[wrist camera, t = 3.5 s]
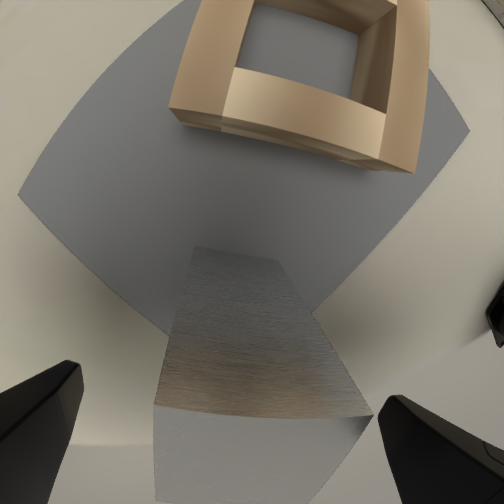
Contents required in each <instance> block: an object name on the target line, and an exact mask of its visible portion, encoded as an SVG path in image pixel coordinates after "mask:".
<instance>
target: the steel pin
mask: <svg viewBox="0 0 504 504" xmlns="http://www.w3.org/2000/svg"><path fill="white" fill-rule="evenodd" d="M373 415H374V414H373V413H372V411H371V409H370V408H369V406H368V404H367V403H366V401H365V399H364V398H363V396H362V394H361V393H360V391H359V389H358V388H357V386H356V384H355V383H354V381H353V379H352V378H351V376H350V374H349V373H348V371H347V370H346V368H345V366H344V365H343V363H342V361H341V360H340V358H339V357H338V355H337V353H336V352H335V350H334V348H333V347H332V345H331V344H330V342H329V340H328V339H327V337H326V335H325V334H324V332H323V331H322V329H321V327H320V326H319V324H318V323H317V321H316V319H315V318H314V316H313V315H312V313H311V311H310V310H309V308H308V307H307V305H306V303H305V302H304V300H303V299H302V297H301V295H300V294H299V292H298V291H297V289H296V288H295V286H294V284H293V283H292V281H291V280H290V278H289V277H288V275H287V273H286V272H285V270H284V269H283V267H282V266H281V264H280V262H279V261H278V260H272V259H267V258H261V257H255V256H250V255H244V254H239V253H233V252H227V251H222V250H216V249H211V248H205V247H200V246H195V247H194V250H193V254H192V257H191V261H190V264H189V267H188V271H187V274H186V278H185V281H184V285H183V289H182V292H181V296H180V299H179V303H178V307H177V311H176V314H175V318H174V322H173V326H172V330H171V334H170V338H169V342H168V346H167V350H166V354H165V358H164V362H163V366H162V370H161V375H160V379H159V383H158V388H157V392H156V397H155V402H154V429H153V436H154V479H155V498H156V501H159V502H165V503H172V504H308V503H309V502H310V501H311V500H312V499H313V498H314V496H315V495H316V494H317V493H318V492H319V491H320V489H321V488H322V487H323V486H324V485H325V483H326V482H327V481H328V480H329V478H330V477H331V476H332V475H333V473H334V472H335V471H336V469H337V468H338V467H339V465H340V464H341V463H342V461H343V460H344V459H345V457H346V456H347V455H348V453H349V452H350V450H351V449H352V448H353V446H354V445H355V443H356V442H357V440H358V439H359V437H360V436H361V434H362V433H363V431H364V430H365V428H366V427H367V425H368V424H369V422H370V420H371V419H372V417H373Z"/></svg>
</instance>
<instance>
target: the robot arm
mask: <svg viewBox="0 0 504 504" xmlns="http://www.w3.org/2000/svg"><path fill="white" fill-rule="evenodd" d="M487 318H488V321H489V323H490V326H491V329H492V332H493V335H494V338H495V341H496V344H497V346H498V347H499V348H501V347H502V346H503V345H504V287H503V289H502V290H501V292H500V293H499V294H498V296H497V297H496V299H495V300H494V302H493V303H492V304H491V306H490V307H489V309H488V310H487ZM83 392H84V383H83V376H82V369H81V366H80V364H79V363H76V362H73V361H70V360H65V361H63V362H61V363H59V364H57V365H55V366H53V367H51V368H49V369H47V370H45V371H43V372H41V373H39V374H37V375H35V376H33V377H31V378H29V379H27V380H25V381H23V382H21V383H20V384H18V385H16V386H14V387H12V388H10V389H8V390H6V391H4V392H2V393H0V504H47V503H48V500H49V497H50V493H51V491H52V488H53V485H54V482H55V479H56V476H57V473H58V470H59V468H60V465H61V462H62V460H63V457H64V454H65V452H66V449H67V447H68V444H69V441H70V438H71V435H72V432H73V428H74V424H75V421H76V417H77V413H78V410H79V406H80V403H81V399H82V396H83ZM378 423H379V427H380V431H381V435H382V439H383V443H384V448H385V452H386V456H387V459H388V462H389V465H390V468H391V471H392V474H393V477H394V480H395V483H396V486H397V489H398V492H399V495H400V498H401V501H402V504H504V450H501V449H499V448H497V447H495V446H493V445H491V444H489V443H487V442H485V441H482V440H481V439H479V438H477V437H476V436H474V435H472V434H470V433H468V432H466V431H464V430H463V429H461V428H459V427H457V426H455V425H454V424H452V423H450V422H448V421H446V420H445V419H443V418H441V417H439V416H437V415H436V414H434V413H432V412H430V411H429V410H427V409H425V408H423V407H422V406H420V405H418V404H416V403H415V402H413V401H411V400H410V399H408V398H406V397H405V396H403V395H392V396H390V397H388V399H387V400H386V402H385V404H384V405H383V407H382V409H381V410H380V412H379V414H378Z"/></svg>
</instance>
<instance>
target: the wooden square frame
mask: <svg viewBox="0 0 504 504" xmlns="http://www.w3.org/2000/svg"><path fill="white" fill-rule="evenodd" d="M255 4H261V5H266V6H270V7H274V8H278V9H282V10H286V11H289V12H293V13H297V14H300V15H303V16H307V17H310V18H313V19H316V20H319V21H322V22H325V23H328V24H331V25H333V26H336V27H339V28H341V29H344V30H346V31H349V32H351V33H354V34H356V35H359V37H358V44H357V51H356V58H355V64H354V71H353V77H352V83H351V88H350V94H349V99H347V98H344V97H341V96H338V95H336V94H333V93H330V92H327V91H324V90H321V89H318V88H315V87H311V86H308V85H305V84H302V83H298V82H295V81H291V80H288V79H284V78H280V77H276V76H272V75H268V74H264V73H260V72H255V71H251V70H246V69H242V68H237V66H238V62H239V59H240V55H241V51H242V48H243V44H244V41H245V37H246V34H247V30H248V27H249V23H250V20H251V17H252V13H253V10H254V7H255ZM429 46H430V17H429V0H202V1H201V4H200V6H199V9H198V12H197V14H196V17H195V20H194V23H193V26H192V28H191V31H190V34H189V37H188V40H187V43H186V46H185V49H184V52H183V56H182V59H181V62H180V65H179V69H178V72H177V76H176V79H175V83H174V86H173V90H172V94H171V98H170V101H169V105H168V108H169V109H170V110H171V111H172V113H173V114H174V115H175V116H176V117H177V119H178V120H179V121H180V122H181V123H182V125H185V126H192V127H198V128H204V129H209V130H215V131H220V132H225V133H230V134H235V135H240V136H245V137H250V138H254V139H258V140H263V141H267V142H271V143H275V144H280V145H284V146H287V147H291V148H295V149H299V150H303V151H306V152H310V153H314V154H317V155H321V156H324V157H327V158H331V159H334V160H337V161H341V162H344V163H347V164H350V165H353V166H356V167H359V168H362V169H365V170H372V171H387V172H400V173H412V174H415V170H416V165H417V159H418V154H419V148H420V142H421V135H422V129H423V121H424V113H425V105H426V95H427V84H428V70H429Z"/></svg>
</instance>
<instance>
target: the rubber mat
mask: <svg viewBox="0 0 504 504" xmlns="http://www.w3.org/2000/svg"><path fill="white" fill-rule="evenodd" d="M201 1H202V0H184V1H182V2H181V3H180V4H178V5H177V6H176V7H174V8H173V9H172V10H171V11H169V12H168V13H167V14H166V15H164V16H163V17H162V18H161V19H159V20H158V21H157V22H156V23H155V24H153V25H152V26H151V27H150V28H149V29H148V30H147V31H145V32H144V33H143V34H142V35H141V36H140V37H139V38H138V39H137V40H136V41H134V42H133V43H132V44H131V45H130V46H129V47H128V48H127V49H126V50H125V51H124V52H123V53H122V54H121V55H120V56H119V57H118V58H117V59H116V60H115V61H114V62H113V63H112V64H111V65H110V66H109V67H108V68H107V70H106V71H105V72H104V73H103V74H102V75H101V76H100V77H99V78H98V79H97V81H96V82H95V83H94V84H93V85H92V86H91V87H90V89H89V90H88V91H87V92H86V93H85V95H84V96H83V97H82V98H81V99H80V101H79V102H78V103H77V104H76V106H75V107H74V108H73V110H72V111H71V112H70V113H69V115H68V116H67V117H66V119H65V120H64V121H63V123H62V124H61V126H60V127H59V128H58V130H57V131H56V133H55V134H54V136H53V137H52V138H51V140H50V141H49V143H48V144H47V146H46V147H45V149H44V151H43V152H42V154H41V155H40V157H39V158H38V160H37V162H36V163H35V165H34V167H33V168H32V170H31V172H30V173H29V175H28V177H27V179H26V180H25V182H24V184H23V186H22V188H21V190H20V191H19V193H18V196H19V197H20V198H21V200H22V201H23V202H24V203H25V204H26V205H27V206H28V208H29V209H30V210H31V211H32V212H33V213H34V214H35V215H36V216H37V217H38V219H39V220H40V221H41V222H42V223H43V224H44V225H45V226H46V227H47V228H48V229H49V230H50V231H51V232H52V233H53V234H54V235H55V236H56V237H57V238H58V239H59V240H60V242H61V243H62V244H63V245H64V246H65V247H67V248H68V249H69V250H70V251H71V252H72V253H73V254H74V255H75V256H76V257H77V258H78V259H79V260H80V261H81V262H82V263H83V264H84V265H85V266H86V267H87V268H88V269H90V270H91V271H92V272H93V273H94V274H95V275H96V276H97V277H98V278H99V279H101V280H102V281H103V282H104V283H105V284H106V285H107V286H108V287H110V288H111V289H112V290H113V291H114V292H115V293H116V294H118V295H119V296H120V297H121V298H122V299H124V300H125V301H126V302H127V303H128V304H130V305H131V306H132V307H133V308H134V309H136V310H137V311H138V312H139V313H141V314H142V315H143V316H144V317H146V318H147V319H148V320H149V321H151V322H152V323H153V324H154V325H156V326H157V327H158V328H160V329H161V330H162V331H163V332H165V333H166V334H167V335H169V336H170V334H171V330H172V326H173V322H174V318H175V314H176V311H177V307H178V303H179V299H180V296H181V292H182V289H183V285H184V281H185V278H186V274H187V271H188V267H189V264H190V261H191V257H192V254H193V250H194V247H195V246H200V247H205V248H211V249H216V250H222V251H227V252H233V253H239V254H244V255H250V256H255V257H261V258H267V259H272V260H278V261H279V262H280V264H281V266H282V267H283V269H284V270H285V272H286V273H287V275H288V277H289V278H290V280H291V281H292V283H293V284H294V286H295V288H296V289H297V291H298V292H299V294H300V295H301V297H302V299H303V300H304V302H305V303H306V305H307V307H308V308H309V310H310V311H311V312H312V311H313V310H314V309H315V308H316V307H317V306H318V305H319V304H320V303H321V302H322V301H323V300H324V299H326V298H327V297H328V296H329V295H330V294H331V293H332V292H333V291H334V290H335V289H336V288H337V287H338V286H339V285H340V284H341V283H342V282H343V281H344V280H345V279H346V278H347V276H348V275H349V274H350V273H351V272H352V271H353V270H354V269H355V268H356V267H357V266H358V265H359V264H360V263H361V262H362V261H363V260H364V259H365V258H366V257H367V256H368V255H369V253H370V252H371V251H372V250H373V249H374V248H375V247H376V246H377V245H378V244H379V243H380V242H381V240H382V239H383V238H384V237H385V236H386V235H387V234H388V233H389V232H390V230H391V229H392V228H393V227H394V226H395V225H396V224H397V223H398V221H399V220H400V219H401V218H402V217H403V216H404V214H405V213H406V212H407V211H408V210H409V209H410V207H411V206H412V205H413V204H414V203H415V202H416V200H417V199H418V198H419V197H420V196H421V194H422V193H423V192H424V191H425V189H426V188H427V187H428V186H429V185H430V183H431V182H432V181H433V180H434V178H435V177H436V176H437V175H438V173H439V172H440V171H441V169H442V168H443V167H444V166H445V164H446V163H447V162H448V160H449V159H450V158H451V156H452V155H453V154H454V152H455V151H456V150H457V148H458V147H459V146H460V144H461V143H462V142H463V140H464V139H465V138H466V136H467V135H468V133H469V132H470V130H469V128H468V127H467V125H466V123H465V121H464V120H463V118H462V116H461V115H460V113H459V111H458V110H457V108H456V106H455V105H454V103H453V102H452V100H451V99H450V97H449V96H448V94H447V93H446V91H445V90H444V88H443V87H442V85H441V84H440V82H439V81H438V80H437V78H436V77H435V75H434V74H433V73H432V71H431V70H430V69H429V70H428V84H427V95H426V105H425V113H424V121H423V129H422V135H421V142H420V148H419V154H418V159H417V165H416V170H415V174H412V173H400V172H387V171H372V170H365V169H362V168H359V167H356V166H353V165H350V164H347V163H344V162H341V161H337V160H334V159H331V158H327V157H324V156H321V155H317V154H314V153H310V152H306V151H303V150H299V149H295V148H291V147H287V146H284V145H280V144H275V143H271V142H267V141H263V140H258V139H254V138H250V137H245V136H240V135H235V134H230V133H225V132H220V131H215V130H209V129H204V128H198V127H192V126H185V125H182V123H181V122H180V121H179V120H178V119H177V117H176V116H175V115H174V114H173V113H172V111H171V110H170V109H169V108H168V105H169V101H170V98H171V94H172V90H173V86H174V83H175V79H176V76H177V72H178V69H179V65H180V62H181V59H182V56H183V52H184V49H185V46H186V43H187V40H188V37H189V34H190V31H191V28H192V26H193V23H194V20H195V17H196V14H197V12H198V9H199V6H200V4H201ZM358 37H359V35H356V34H354V33H351V32H349V31H346V30H344V29H341V28H339V27H336V26H333V25H331V24H328V23H325V22H322V21H319V20H316V19H313V18H310V17H307V16H303V15H300V14H297V13H293V12H289V11H286V10H282V9H278V8H274V7H270V6H266V5H261V4H255V7H254V10H253V13H252V17H251V20H250V23H249V27H248V30H247V34H246V37H245V41H244V44H243V48H242V51H241V55H240V59H239V62H238V66H237V68H242V69H246V70H251V71H255V72H260V73H264V74H268V75H272V76H276V77H280V78H284V79H288V80H291V81H295V82H298V83H302V84H305V85H308V86H311V87H315V88H318V89H321V90H324V91H327V92H330V93H333V94H336V95H338V96H341V97H344V98H347V99H349V94H350V88H351V83H352V77H353V71H354V64H355V58H356V51H357V44H358Z"/></svg>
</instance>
